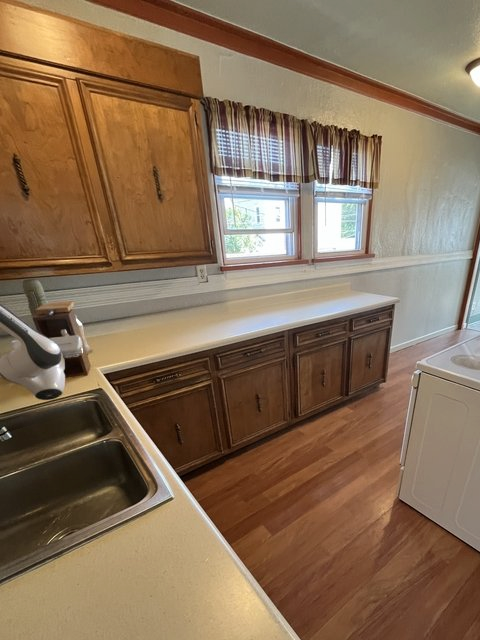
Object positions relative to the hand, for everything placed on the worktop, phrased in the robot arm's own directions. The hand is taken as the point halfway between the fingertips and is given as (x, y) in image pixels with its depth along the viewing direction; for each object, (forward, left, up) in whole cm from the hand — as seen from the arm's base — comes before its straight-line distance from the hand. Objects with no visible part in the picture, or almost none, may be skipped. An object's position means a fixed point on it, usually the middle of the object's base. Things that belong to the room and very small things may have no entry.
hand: (49, 332), depth 121 cm
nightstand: (+9, +13, -22) cm, 28 cm away
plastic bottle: (+25, +34, -22) cm, 48 cm away
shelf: (+11, +16, +4) cm, 19 cm away
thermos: (+22, +56, -22) cm, 64 cm away
